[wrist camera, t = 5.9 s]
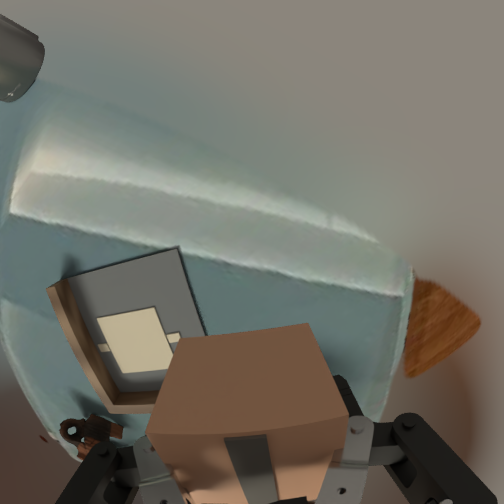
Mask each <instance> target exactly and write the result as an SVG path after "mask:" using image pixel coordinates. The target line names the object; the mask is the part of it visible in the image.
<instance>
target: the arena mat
mask: <svg viewBox="0 0 504 504" xmlns="http://www.w3.org/2000/svg"><path fill="white" fill-rule="evenodd" d="M67 279H68V282H69V285H70V288H71V290H72V293H73V296H74V298H75V301H76V303H77V306H78V308H79V311H80V313H81V315H82V318H83V320H84V322H85V325H86V327H87V329H88V331H89V334H90V336H91V338H92V340H93V342H94V344H95V346H96V348H97V350H98V352H99V354H100V356H101V358H102V360H103V362H104V364H105V366H106V368H107V370H108V371H109V373H110V375H111V377H112V379H113V380H114V382H115V384H116V386H117V387H118V389H119V391H120V392H140V391H154V390H160V389H161V386H162V383H163V381H164V378H165V375H166V373H167V370H168V367H169V365H170V362H171V359H172V357H173V354H174V351H175V349H176V346H177V344H178V341H179V339H180V338H189V337H201V336H206V335H205V332H204V330H203V327H202V324H201V321H200V318H199V315H198V312H197V309H196V306H195V303H194V300H193V297H192V294H191V291H190V288H189V285H188V282H187V279H186V275H185V272H184V269H183V266H182V262H181V259H180V256H179V252H178V249H173V250H169V251H165V252H161V253H157V254H154V255H150V256H146V257H142V258H139V259H135V260H131V261H127V262H124V263H120V264H116V265H113V266H109V267H105V268H102V269H98V270H95V271H91V272H87V273H84V274H80V275H77V276H73V277H70V278H67Z"/></svg>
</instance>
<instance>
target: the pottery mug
mask: <svg viewBox="0 0 504 504" xmlns="http://www.w3.org/2000/svg"><path fill="white" fill-rule="evenodd" d="M60 426H61V429H60V430H59V431H60V434H61V436H62V437H63V438H64V439H65V440H66V441H67V442H69V443H71V444H74V445H75V446H76V447H77V449H78V451H79V452H78V455H77V457H78V458H80V459H81V460H84V459H85V457H86V456H87V454H88V453H89V451H90V450H91V448H92V447H93V446H94V445H95V444H97V443H99V442H104V441H106V442H109V437H115V438H118V439H122V433H123V427H122V426H120V425H117V424H116V423H113V422H110V421H108V420H106V419H104V418H102V417H99V416H96V415H93V414H91V415H90V417H89V418H88V419H87V421H85V419H84V418H83V419H81V420H76V419H67V420H64V421H63V422H62V423H60ZM71 427H76V433H74V434H72V435H70V434H68V429H69V428H71ZM83 437H84V442H85V443H84V442H81V439H82V438H83Z"/></svg>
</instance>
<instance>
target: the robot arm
mask: <svg viewBox="0 0 504 504" xmlns="http://www.w3.org/2000/svg"><path fill="white" fill-rule="evenodd" d="M44 54H45V49H44V46H43V44H42V43H41V42H39V41H38V36H37V35H35V34H34V33H32V32H30V31H29V30H27V29H26V28H24V27H22V26H20V25H19V24H17V23H15V22H14V21H12V20H10V19H8V18H7V17H5V16H3V15H1V14H0V101H4V102H13V101H15V100H17V99H18V98H20V97H21V96H22V95H23V94H24V93H25V92H26V91H27V90H28V88H29V87H30V86H31V84H32V83H33V82H34V80H35V78H36V77H37V75H38V73H39V71H40V69H41V66H42V63H43V60H44ZM332 377H333V379H334V381H335V383H336V386H337V388H338V390H339V392H340V395H341V397H342V399H343V401H344V404H345V406H346V408H347V411H348V413H349V419H348V426H347V433H346V439H345V445H344V448H341V449H337V450H334V453H333V457H332V460H331V462H330V463H329V465H328V468H327V471H326V474H325V477H324V480H323V483H322V486H321V489H320V491H319V494H318V497H317V499H316V502H309V501H307V496H304V497H298V498H291V499H284V500H279V501H276V502H272V503H269V504H360V502H361V498H362V494H363V490H364V486H365V482H366V477H367V472H368V466H374V465H383V466H384V467H385V469H386V470H387V472H388V473H389V474H390V476H391V477H392V479H393V480H394V482H395V483H396V484H397V486H398V487H399V489H400V490H401V491H402V493H403V495H404V496H405V497H406V498H407V500H408V502H409V503H410V504H498V503H497V498H496V496H495V495H494V494H493V493H492V492H491V491H490V490H489V489H488V488H487V486H486V485H485V484H484V483H483V482H482V481H481V480H480V479H479V478H478V477H477V476H476V475H475V474H474V472H473V471H472V470H471V469H470V468H469V467H468V466H467V465H466V464H465V463H464V462H463V461H462V460H461V459H460V458H459V457H458V456H457V454H456V453H455V452H454V451H453V450H452V449H451V448H450V447H449V446H448V445H447V444H446V443H445V442H444V441H443V440H442V438H441V437H440V436H439V435H438V434H437V433H436V432H435V431H434V430H433V429H432V428H431V427H430V426H429V425H428V424H427V423H426V422H425V421H424V420H423V418H422V417H421V416H419V415H418V414H415V413H404V414H401V415H399V416H398V417H397V418H396V419H395V420H394V422H389V423H376V422H372V420H370V419H369V418H368V417H365V416H364V415H363V413H362V411H361V409H360V407H359V405H358V403H357V401H356V399H355V397H354V395H353V393H352V391H351V389H350V387H349V385H348V383H347V381H346V380H345V379H344V378H343V377H341V376H340V375H336V376H332ZM138 489H140V492H141V495H142V498H143V502H144V504H195V502H194V500H193V498H192V496H191V494H190V492H189V491H188V489H187V488H183V487H182V485H181V483H180V481H179V479H178V477H177V475H176V473H175V470H174V469H173V467H172V465H171V464H167V463H163V461H162V460H161V458H160V457H159V455H158V453H157V452H156V450H155V449H154V447H153V445H152V444H151V442H150V440H149V439H148V437H147V435H145V436H143V437H141V438H139V439H138V440H137V441H136V442H135V443H134V445H133V446H130V447H124V448H116V447H115V445H114V444H112V443H111V442H106V441H104V442H99V443H97V444H95V445H94V446H93V447H92V448H91V450H90V451H89V453H88V454H87V456H86V457H85V459H84V460H83V462H82V463H81V465H80V466H79V468H78V469H77V471H76V472H75V474H74V475H73V477H72V478H71V480H70V481H69V483H68V484H67V486H66V488H65V489H64V490H63V492H62V494H61V495H60V497H59V498H58V500H57V501H56V503H55V504H132V502H133V500H134V498H135V496H136V493H137V491H138ZM202 504H207V503H202Z"/></svg>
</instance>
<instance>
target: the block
mask: <svg viewBox="0 0 504 504" xmlns="http://www.w3.org/2000/svg"><path fill="white" fill-rule="evenodd" d="M348 419H349V413H348V411H347V408H346V406H345V404H344V401H343V399H342V397H341V395H340V392H339V390H338V388H337V386H336V383H335V381H334V379H333V377H332V374H331V372H330V370H329V368H328V366H327V363H326V361H325V359H324V357H323V354H322V352H321V350H320V348H319V346H318V343H317V341H316V339H315V337H314V335H313V333H312V330H311V328H310V326H309V324H308V323H304V324H298V325H291V326H285V327H278V328H271V329H264V330H256V331H248V332H240V333H231V334H222V335H212V336H201V337H189V338H180V339H179V341H178V344H177V346H176V349H175V351H174V354H173V357H172V359H171V362H170V365H169V367H168V370H167V373H166V375H165V378H164V381H163V383H162V386H161V389H160V392H159V394H158V397H157V400H156V403H155V405H154V408H153V411H152V414H151V417H150V420H149V422H148V425H147V428H146V431H145V433H146V435H147V437H148V439H149V440H150V442H151V444H152V445H153V447H154V449H155V450H156V452H157V453H158V455H159V457H160V458H161V460H162V461H163V463H167V464H171V465H172V467H173V469H174V470H175V473H176V475H177V477H178V479H179V481H180V483H181V485H182V487H183V488H187V489H188V491H189V492H190V494H191V496H192V498H193V500H194V502H195V504H202V503H207V504H269V503H272V502H276V501H279V500H284V499H291V498H298V497H304V496H307V501H309V500H314V499H317V497H318V494H319V491H320V489H321V486H322V483H323V480H324V477H325V474H326V471H327V468H328V465H329V463H330V462H331V460H332V457H333V453H334V450H337V449H341V448H344V445H345V439H346V433H347V426H348Z"/></svg>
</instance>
